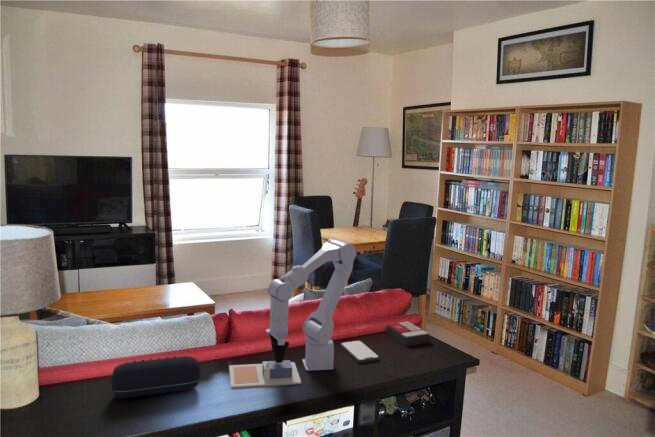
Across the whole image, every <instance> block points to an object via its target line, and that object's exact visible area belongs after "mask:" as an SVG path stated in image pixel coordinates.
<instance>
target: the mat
mask: <svg viewBox="0 0 655 437" xmlns="http://www.w3.org/2000/svg"><path fill="white" fill-rule="evenodd" d="M290 362H291V365H292V378H279V379H264V377H263V372H262V365H263V363H252V364H248V363H247V364H232V365H228V370H229V371H228V372H229V382H230V389H240V388H259V387H273V386H274V387H276V386H290V385H302V380H301V377H300V375H299V371H298V369H297V366H296V363H295V362H294V361H290Z"/></svg>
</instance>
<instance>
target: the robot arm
mask: <svg viewBox="0 0 655 437" xmlns="http://www.w3.org/2000/svg"><path fill="white" fill-rule="evenodd" d="M357 254H358V253H357V251H356V248H355V246H354V245H353V243H349V242H345V241H343V240H339V239H337V238H336V237H331V238H329V239H328V240H327V241H325V242H324V243H323V244H322V246H321V248H320V249H319V250H318V251H317V252H316V253H315V254H314V255H312V256H311V257H310V258H309V259H308V260H307V261H306V262H304V263H303V264H302V265H300V264H299V265H298V264H297V265H294V266H292V267H291V269H290V270H289V271H288V272H286V273H285V274H283V275H281V276H280V278H277V279H273V280H272V281H271V282H270V283H269V285H268V287H267V289H266V290H267V293H268V294H269V296H270V297H269V300H270V305H269V306H270V307H269V308H270V309H269V328H267V329H265V333H266V334H267V335H269V338H270V344H271V349H272V353H273V354H274V356H273V357H274V361H276V363H282V362H283V360H284V358H285V355H286V354H285V353H286V351H287V349H288V348H289V346H290V341H285V340H286V337H287V336H288V334H289V333H288V332H289V329H288V323H289V306H290V305H289V304H290V303H289V302H290V299H291V298H292V297H293V295H294V292H295V291H296V289H298V288H299V287H300V286H301V285H302V284H304V283H305V282H306V281H308V280H309V275H310V274H311V273H313V272H314V271H315V270H317V269H318V268H320V267H321V266H322V265H324V264H325V263H327V262H332V263H333V266H334V271H333V273H332V275H331V278H330V280H329V281H328V284H327V287H326V288H325V291H324V294H323V296H322V298H321V301H319V302H320V303H319V305H318V308H317V309H316V310H315V311H313V312H311V313H310V314H309V316H308V318H306V320H305V321H304V322H303V325H302V327H301V328H302V333H303V334H304V335H305V357H304V358H303V359H301V360H302V364H303V366H304V369H305V371H308V372H309V371H325V370H326V371H328V370H334V359H335V358H334V357H335V346H334V341H333V340H332V336H333V330H334V328H335V324H334V321H333V318H332V317H333V315H334V313H335V311H336V308H337V306H338V303H339V301H340V299H341V297H342V295H343V293H344V290H345V288H346V285H347V283H348V280H349V279H350V276H351V273H352V272H353V270H354V269H353V267H354V261H355V260H356V257H357Z"/></svg>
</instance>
